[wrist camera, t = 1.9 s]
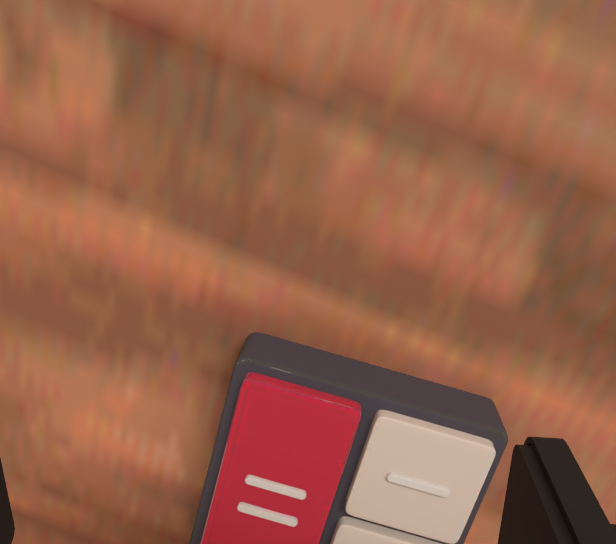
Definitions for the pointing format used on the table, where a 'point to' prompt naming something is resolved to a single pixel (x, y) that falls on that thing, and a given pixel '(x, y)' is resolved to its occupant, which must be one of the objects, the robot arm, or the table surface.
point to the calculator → (343, 453)
